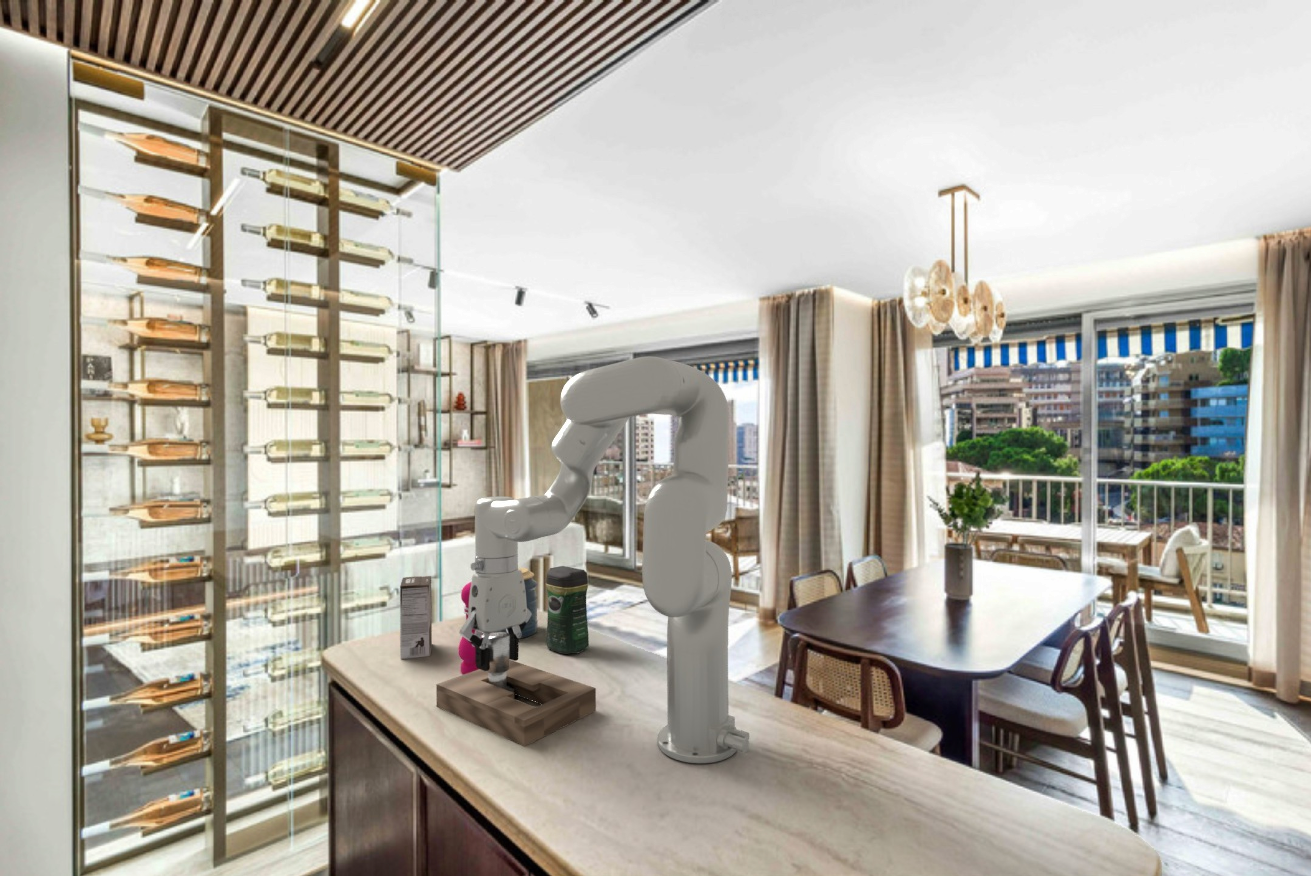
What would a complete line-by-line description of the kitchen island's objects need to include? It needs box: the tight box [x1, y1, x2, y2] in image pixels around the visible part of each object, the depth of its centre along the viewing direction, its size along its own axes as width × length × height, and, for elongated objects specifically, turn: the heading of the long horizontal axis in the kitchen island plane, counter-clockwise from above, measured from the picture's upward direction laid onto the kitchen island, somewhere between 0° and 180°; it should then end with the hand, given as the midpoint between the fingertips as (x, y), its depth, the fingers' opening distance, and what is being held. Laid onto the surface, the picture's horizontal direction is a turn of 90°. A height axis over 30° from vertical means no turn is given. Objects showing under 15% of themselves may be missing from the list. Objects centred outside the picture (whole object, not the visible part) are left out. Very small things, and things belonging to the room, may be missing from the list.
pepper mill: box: [457, 575, 483, 675], centre depth 130 cm, size 7×7×20 cm
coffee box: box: [399, 575, 433, 660], centre depth 142 cm, size 9×6×16 cm
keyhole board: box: [435, 659, 597, 747], centre depth 111 cm, size 24×16×4 cm, turn 52°
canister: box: [493, 566, 539, 639], centre depth 155 cm, size 13×13×18 cm
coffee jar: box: [545, 565, 590, 655], centre depth 143 cm, size 10×8×19 cm
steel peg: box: [486, 632, 516, 700], centre depth 114 cm, size 6×6×12 cm
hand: (497, 662), depth 114 cm, fingers open, 5 cm apart
